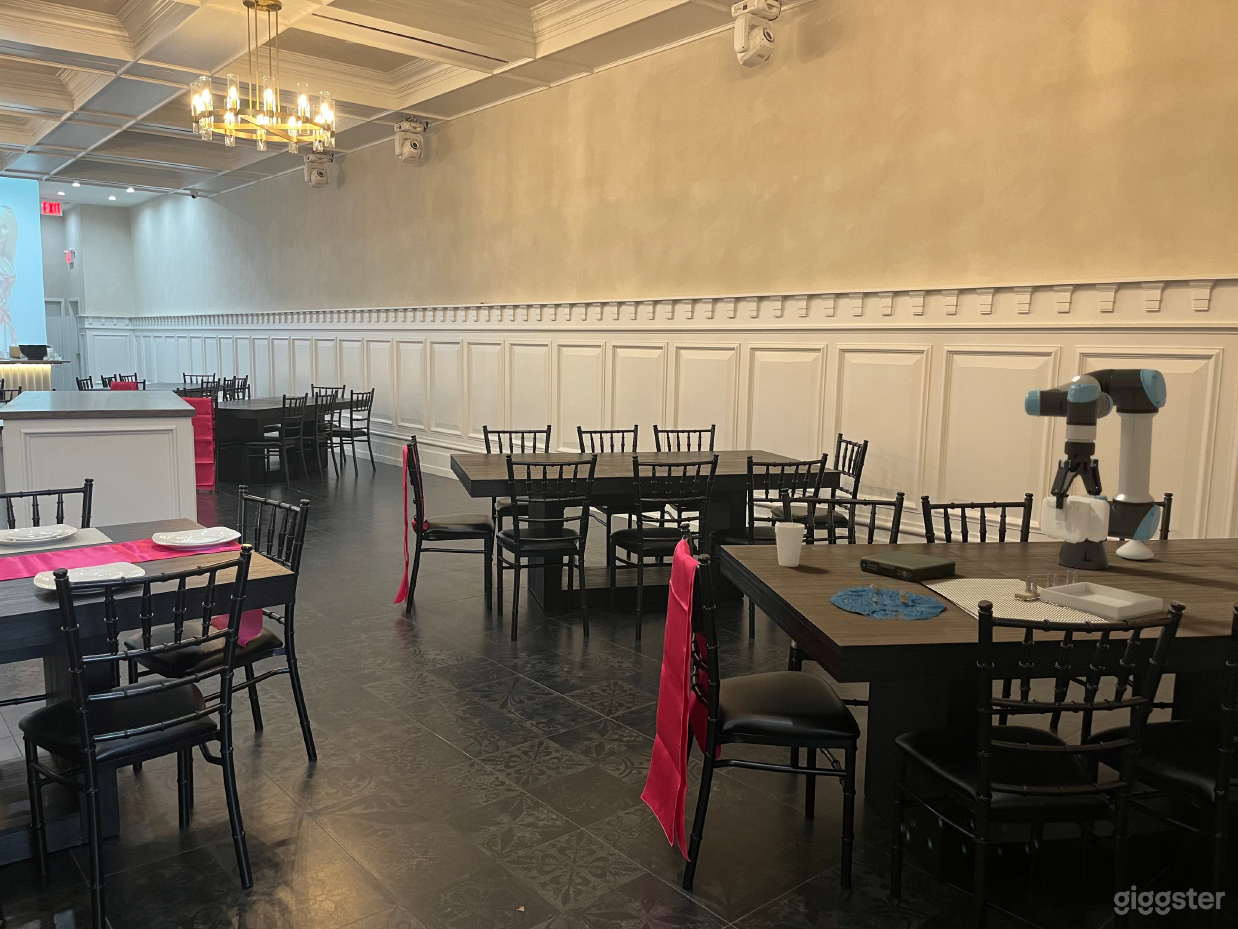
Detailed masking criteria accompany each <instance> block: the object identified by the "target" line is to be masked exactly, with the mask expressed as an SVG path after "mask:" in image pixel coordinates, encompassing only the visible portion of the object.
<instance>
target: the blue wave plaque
mask: <svg viewBox="0 0 1238 929" xmlns="http://www.w3.org/2000/svg"><path fill="white" fill-rule="evenodd" d="M829 600H830V602H831V604H833V605H835V606H836V607H837V608H840V609H843V610H845V611H847V612H852V613H853V612H854V613H859V614H862V615H863V616H865V617H866V618H870V619H879V620H880V619H881V620H889V619H890V620H891V619H892V620H895V621H897V620H901V619H902V620H904V621H905V620H909V621H913V620H924V619H925V620H928V619H932V618H933V617H939V616H940V615H941V614H942V613H941V611H943V610H944V609H945V607H946V605H945V604H944V603H943V602H941V601H939V600H938V599H937V598H931V597H929V596H927V595H920V594H917V593H912V592H909V591H902V590H900V589H898V590H892V589H886V588H884V587H880V586H877V585H876V584H874V583H871V584H869V586H858V587H848V588H844V589H843V590H840V591H838V592H837V593H835V594H834V595H833V596H831V597H830V599H829ZM897 611H898V612H897ZM899 613H900V614H899ZM897 614H898V617H897V616H896V615H897Z"/></svg>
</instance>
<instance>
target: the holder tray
mask: <svg viewBox="0 0 1238 929" xmlns="http://www.w3.org/2000/svg"><path fill="white" fill-rule="evenodd" d="M1039 590H1040V599H1039V601H1040V600H1042V601H1048V602H1051V603H1053V604H1058V605H1060V606H1063V607H1068V608H1071V609H1074V610H1073V611H1075V610H1078V611H1077V612H1079V611H1082V612H1081V613H1083V612H1085V613H1084V614H1087V613H1089V614H1088V615H1091V616H1096V617H1100V618H1102V619H1103V618H1104V619H1107V620H1110V621H1111V620H1112V621H1115V622H1120V621H1123V620H1128V619H1133V618H1138V617H1142V616H1147V615H1148V616H1149V615H1152V614H1153V615H1154V614H1157V613H1161V612H1163V605H1164V604H1163V603H1164V598H1161V597H1156V596H1152V595H1147V594H1143V593H1138V592H1134V591H1129V590H1124V589H1120V588H1116V587H1110V586H1106V585H1102V584H1097V583H1094V582H1093V583H1092V582H1088V581H1081V582H1077V583H1075V584H1072V583H1071V584H1068V585H1065V584H1064V585H1063V584H1062V585H1058V586H1056V587H1053V586H1051V587H1050V588H1045V587H1044V588H1040V589H1039ZM1060 606H1059V607H1060ZM1063 607H1062V608H1063ZM1071 609H1070V610H1071Z"/></svg>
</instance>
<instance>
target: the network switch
mask: <svg viewBox="0 0 1238 929" xmlns="http://www.w3.org/2000/svg"><path fill="white" fill-rule="evenodd" d="M859 567H860V571H862V572H865V571H866V573H870V572H871V573H870V574H875V573H876V574H877V575H881V574H882V575H884V576H888V577H892V578H898V579H902V580H903V581H905V582H910V583H911V582H912V583H919V582H923V581H922V580H924V581H928V579H929V580H933V579H940V578H944V577H949V576H955V574H956V562H955V560H951V559H948V558H943V557H936V556H931V555H928V554H927V555H926V554H920V553H915V552H911V551H905V550H902V549H901V550H895V551H889V552H883V553H878V554H873V555H865V556H862V557H861V558H860V561H859Z"/></svg>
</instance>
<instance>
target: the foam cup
mask: <svg viewBox="0 0 1238 929" xmlns="http://www.w3.org/2000/svg"><path fill="white" fill-rule="evenodd" d="M805 528H806V527H805V524H804V523H803V524H802V523H797V522H778V523H775V525H774V533H775V540H776V548H777V549H776V551H777V560H778V565H779V566H783V567H788V568H789V567H793V568H794V567H798V566H799V564H800V557H801V553H802V552H801V551H802V545H803V540H804V534H805Z"/></svg>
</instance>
